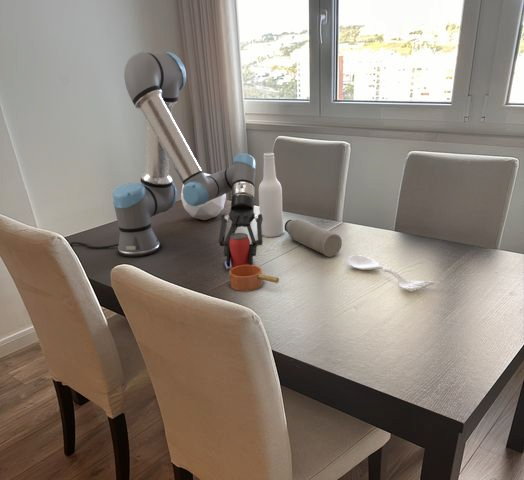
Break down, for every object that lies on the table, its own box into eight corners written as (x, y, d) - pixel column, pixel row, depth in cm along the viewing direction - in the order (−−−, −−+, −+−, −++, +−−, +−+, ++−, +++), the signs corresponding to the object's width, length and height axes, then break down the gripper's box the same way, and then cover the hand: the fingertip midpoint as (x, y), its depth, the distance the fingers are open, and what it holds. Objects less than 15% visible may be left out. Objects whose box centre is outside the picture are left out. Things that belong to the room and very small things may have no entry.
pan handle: (256, 279, 148) (256, 274, 147) (259, 277, 149) (259, 272, 148) (276, 283, 144) (276, 278, 144) (279, 281, 146) (279, 276, 145)
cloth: (224, 263, 168) (224, 261, 168) (249, 260, 169) (249, 258, 169) (226, 270, 163) (226, 267, 163) (252, 266, 164) (252, 264, 164)
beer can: (236, 276, 156) (233, 240, 150) (228, 270, 161) (225, 234, 155) (255, 272, 159) (252, 236, 153) (246, 266, 164) (243, 230, 158)
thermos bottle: (345, 243, 169) (302, 224, 191) (334, 229, 164) (290, 210, 186) (330, 261, 170) (288, 240, 191) (318, 247, 164) (277, 227, 186)
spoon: (411, 299, 137) (412, 288, 136) (340, 265, 162) (341, 255, 160) (434, 291, 141) (435, 280, 139) (362, 259, 165) (362, 249, 163)
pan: (224, 286, 151) (222, 273, 149) (242, 275, 158) (241, 262, 156) (250, 293, 146) (249, 279, 144) (268, 281, 153) (268, 267, 151)
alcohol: (287, 232, 194) (285, 151, 179) (275, 238, 188) (272, 156, 173) (268, 229, 199) (265, 150, 183) (256, 235, 192) (252, 154, 177)
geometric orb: (211, 236, 216) (203, 207, 198) (177, 215, 222) (166, 185, 203) (237, 206, 221) (231, 176, 203) (203, 186, 227) (195, 155, 208)
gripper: (211, 194, 158) (206, 260, 153) (271, 192, 156) (268, 259, 151) (215, 206, 165) (211, 269, 160) (273, 205, 163) (271, 269, 158)
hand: (239, 264), depth 155 cm, fingers closed on beer can, 7 cm apart
